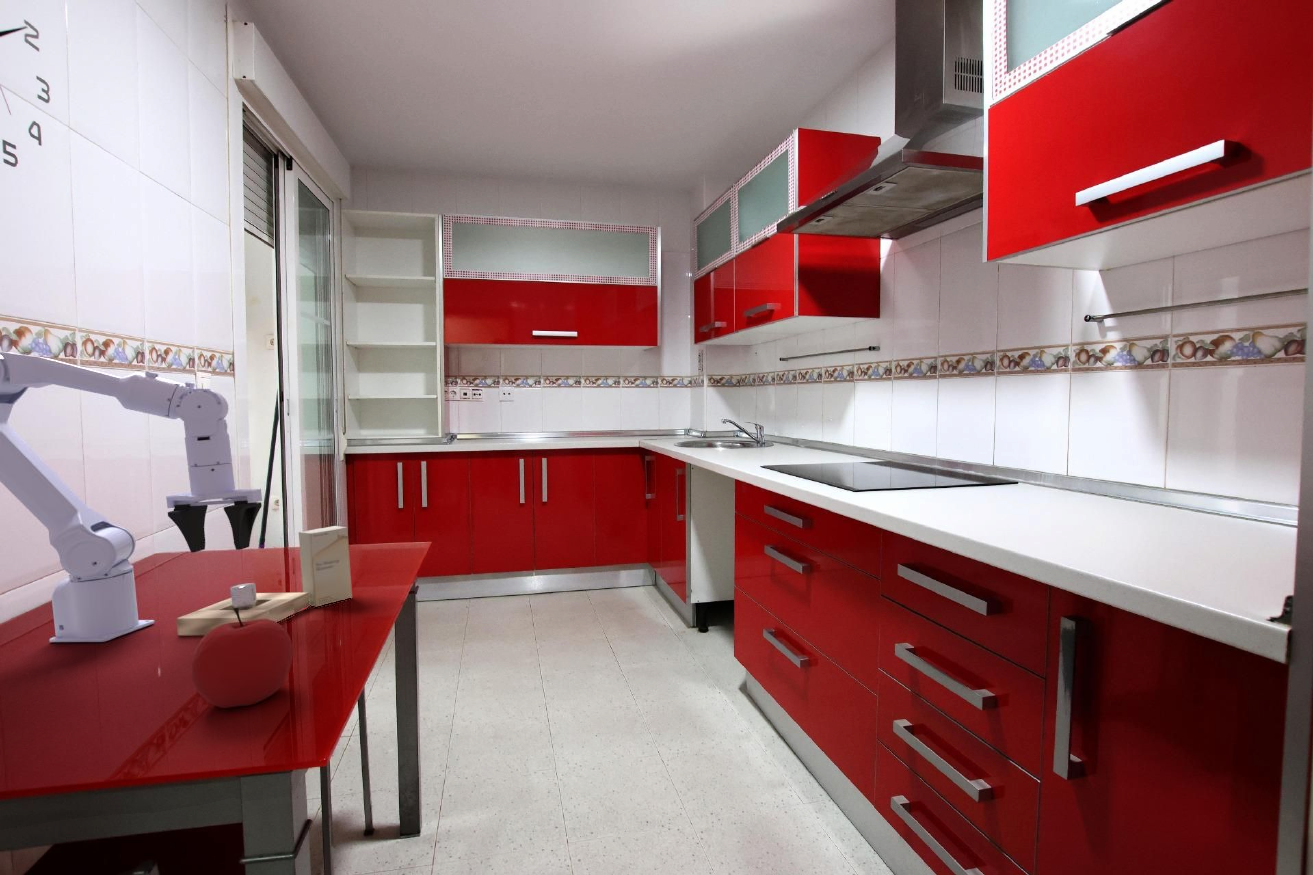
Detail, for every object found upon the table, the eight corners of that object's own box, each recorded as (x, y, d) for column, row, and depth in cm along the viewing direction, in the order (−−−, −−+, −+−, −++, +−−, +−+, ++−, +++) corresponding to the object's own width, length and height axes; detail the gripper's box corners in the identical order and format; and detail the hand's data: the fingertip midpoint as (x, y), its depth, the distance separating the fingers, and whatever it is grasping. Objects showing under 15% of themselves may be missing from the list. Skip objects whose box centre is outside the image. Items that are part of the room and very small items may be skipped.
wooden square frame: (178, 635, 91) (176, 618, 91) (243, 608, 103) (242, 593, 103) (251, 634, 90) (250, 617, 90) (309, 607, 101) (308, 592, 101)
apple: (178, 727, 63) (169, 628, 62) (214, 689, 72) (206, 603, 71) (282, 709, 65) (274, 615, 65) (304, 675, 74) (297, 591, 74)
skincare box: (315, 609, 101) (309, 533, 100) (302, 605, 103) (296, 531, 103) (354, 598, 106) (348, 526, 105) (341, 594, 108) (335, 524, 108)
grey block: (228, 624, 95) (225, 589, 95) (246, 617, 98) (243, 582, 98) (245, 625, 94) (242, 589, 94) (263, 618, 97) (260, 583, 97)
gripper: (145, 470, 96) (156, 558, 97) (234, 464, 95) (244, 553, 96) (183, 465, 103) (193, 547, 104) (267, 459, 102) (276, 542, 103)
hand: (220, 549), depth 100 cm, fingers open, 7 cm apart
